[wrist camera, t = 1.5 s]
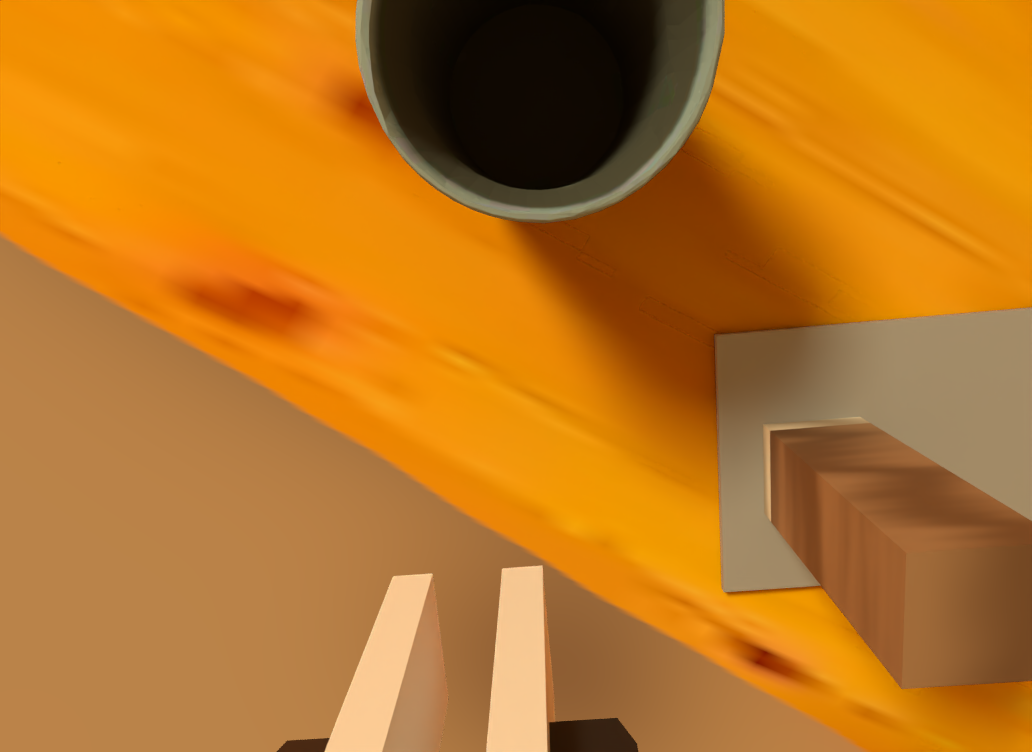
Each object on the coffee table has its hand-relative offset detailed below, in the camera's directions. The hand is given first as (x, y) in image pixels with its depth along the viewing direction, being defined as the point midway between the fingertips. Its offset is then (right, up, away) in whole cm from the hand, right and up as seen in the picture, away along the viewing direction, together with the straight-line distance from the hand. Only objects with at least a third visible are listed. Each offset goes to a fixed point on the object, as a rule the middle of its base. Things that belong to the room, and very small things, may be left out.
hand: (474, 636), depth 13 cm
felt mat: (+22, +1, +20) cm, 29 cm away
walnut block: (+15, +1, +20) cm, 25 cm away
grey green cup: (+2, +17, +17) cm, 24 cm away
